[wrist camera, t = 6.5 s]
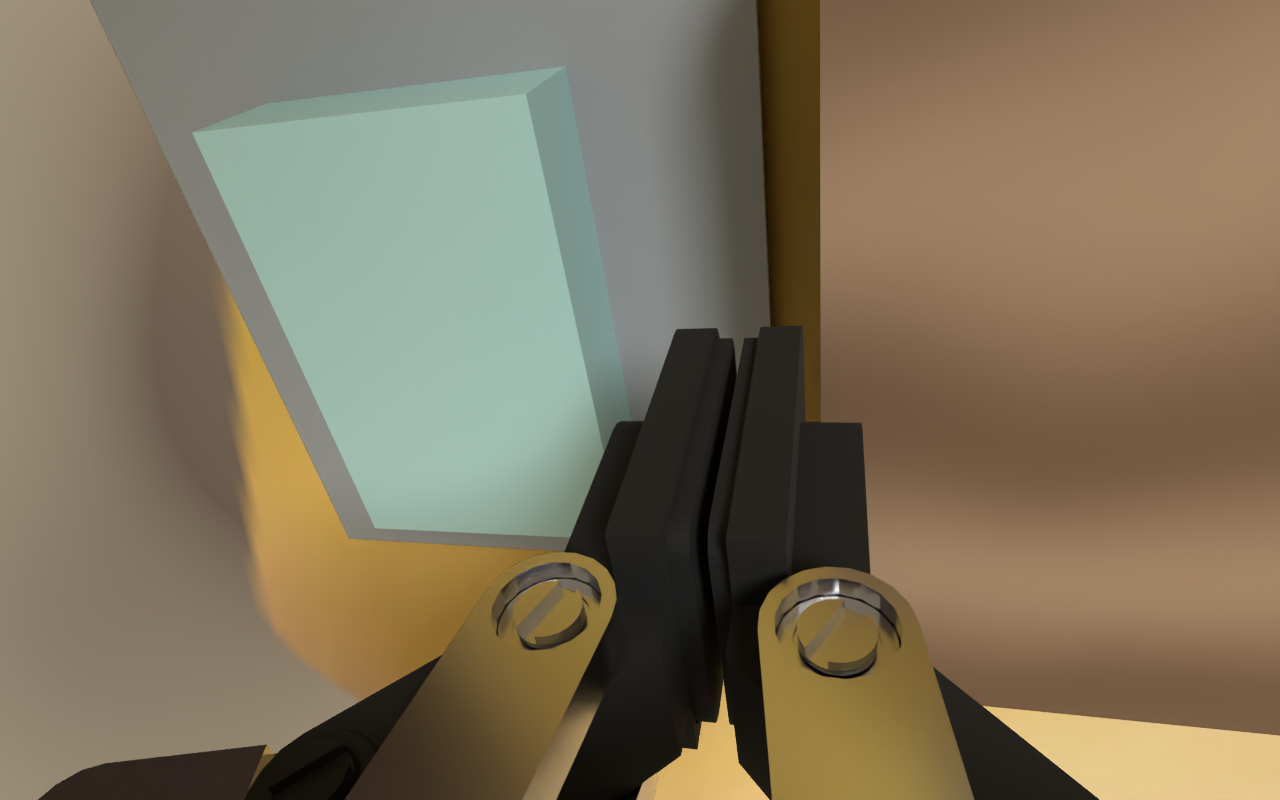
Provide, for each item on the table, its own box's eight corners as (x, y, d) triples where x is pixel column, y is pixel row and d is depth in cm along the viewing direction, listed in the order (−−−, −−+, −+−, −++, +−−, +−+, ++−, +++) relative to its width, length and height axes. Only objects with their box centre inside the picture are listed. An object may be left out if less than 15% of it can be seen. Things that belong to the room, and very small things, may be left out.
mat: (58, -95, 13) (44, -95, 13) (747, -237, 10) (744, -240, 10) (354, 530, 21) (349, 538, 21) (781, 555, 18) (780, 564, 18)
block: (525, 94, 11) (565, 66, 12) (192, 132, 12) (265, 103, 14) (623, 539, 16) (642, 479, 17) (375, 528, 17) (413, 473, 19)
